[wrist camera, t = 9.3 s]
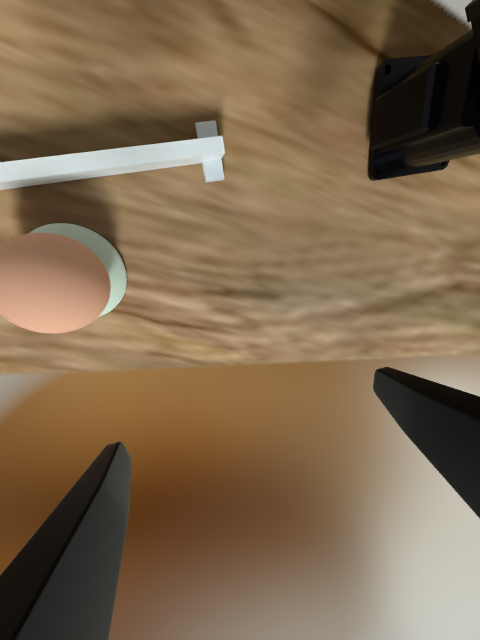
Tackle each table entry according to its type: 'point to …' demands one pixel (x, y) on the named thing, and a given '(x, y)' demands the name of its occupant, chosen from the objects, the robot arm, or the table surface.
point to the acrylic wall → (120, 161)
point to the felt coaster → (102, 250)
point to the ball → (51, 283)
